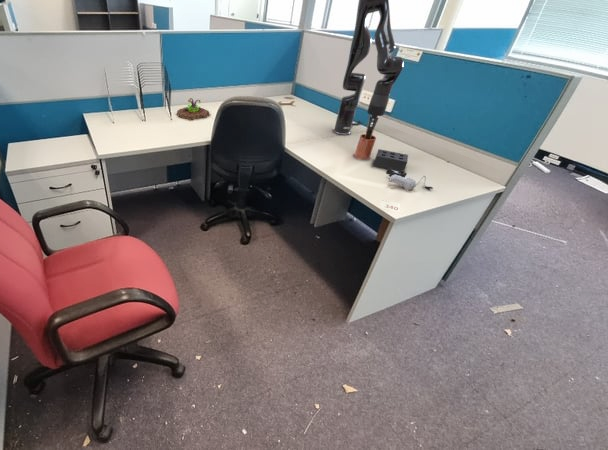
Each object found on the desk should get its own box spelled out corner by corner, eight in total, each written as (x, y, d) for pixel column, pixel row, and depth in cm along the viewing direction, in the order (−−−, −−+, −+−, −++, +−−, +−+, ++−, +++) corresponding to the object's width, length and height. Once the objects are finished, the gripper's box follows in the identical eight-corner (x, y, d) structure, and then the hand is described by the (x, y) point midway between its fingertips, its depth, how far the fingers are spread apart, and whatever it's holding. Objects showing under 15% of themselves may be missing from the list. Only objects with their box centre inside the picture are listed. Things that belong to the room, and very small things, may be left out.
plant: (171, 114, 222) (171, 97, 216) (193, 108, 233) (193, 92, 227) (191, 121, 211) (190, 103, 204) (213, 115, 221) (213, 98, 215)
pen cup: (355, 153, 175) (361, 133, 168) (370, 156, 172) (376, 135, 165) (353, 158, 169) (359, 137, 163) (368, 161, 167) (375, 140, 160)
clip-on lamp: (421, 188, 151) (383, 174, 152) (430, 176, 147) (390, 162, 149) (429, 199, 141) (388, 184, 142) (438, 186, 137) (396, 171, 139)
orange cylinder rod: (361, 148, 170) (368, 125, 163) (367, 150, 169) (374, 126, 162) (360, 150, 168) (367, 126, 161) (366, 152, 167) (374, 127, 159)
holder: (374, 160, 168) (378, 149, 165) (403, 166, 163) (408, 154, 160) (372, 167, 161) (376, 155, 158) (402, 173, 156) (407, 162, 153)
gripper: (371, 99, 161) (361, 133, 171) (368, 106, 151) (357, 142, 161) (388, 101, 158) (376, 136, 169) (385, 108, 148) (373, 145, 158)
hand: (367, 139), depth 165 cm, fingers closed on orange cylinder rod, 3 cm apart
